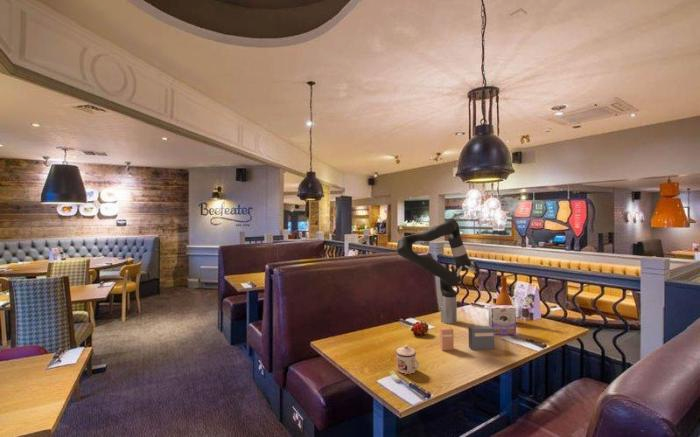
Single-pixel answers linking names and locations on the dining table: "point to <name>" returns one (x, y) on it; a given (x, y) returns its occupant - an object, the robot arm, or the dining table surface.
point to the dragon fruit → (419, 328)
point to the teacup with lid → (406, 360)
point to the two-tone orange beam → (446, 338)
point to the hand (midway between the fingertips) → (468, 280)
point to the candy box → (503, 319)
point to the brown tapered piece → (503, 294)
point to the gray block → (481, 337)
